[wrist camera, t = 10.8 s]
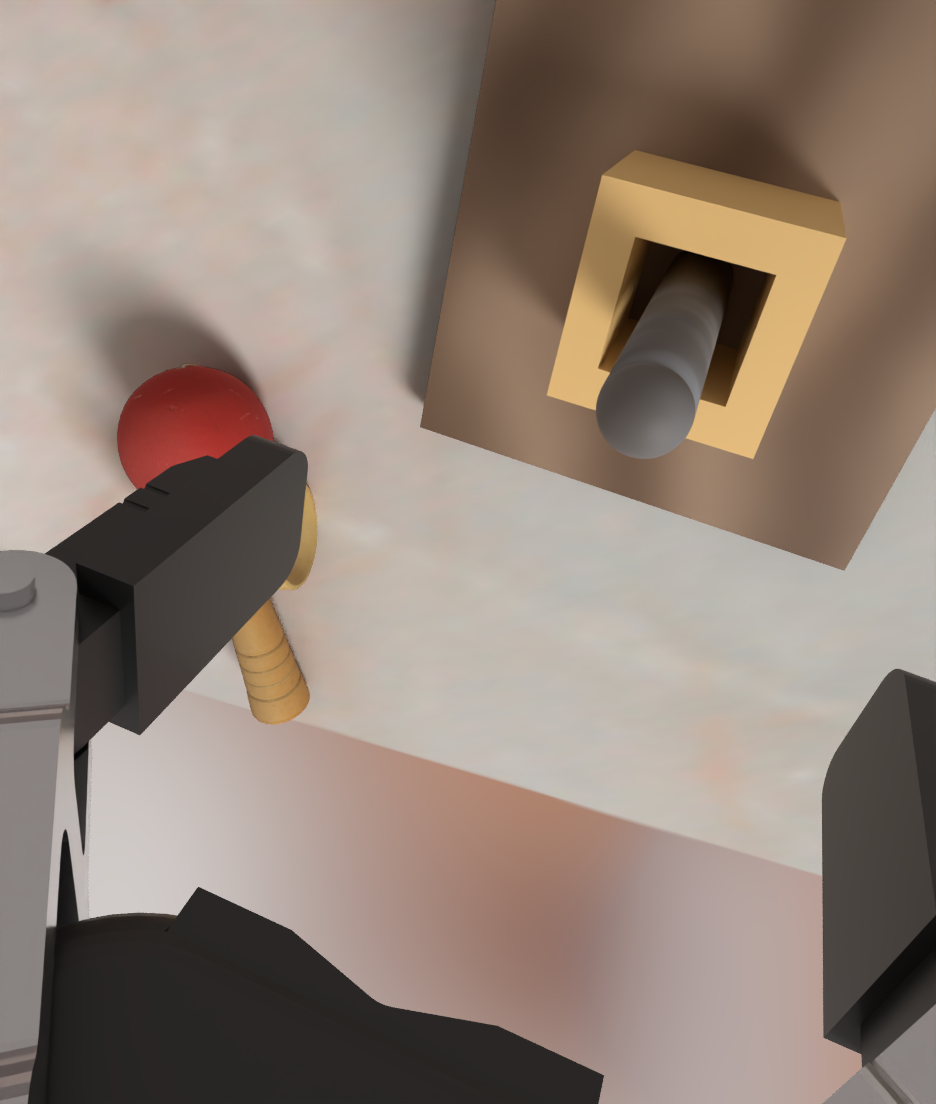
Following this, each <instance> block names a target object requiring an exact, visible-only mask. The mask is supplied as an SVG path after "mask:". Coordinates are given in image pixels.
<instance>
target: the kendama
mask: <svg viewBox="0 0 936 1104" xmlns="http://www.w3.org/2000/svg"><path fill="white" fill-rule="evenodd" d="M251 435H257V436H260V437H262V438H265V439H268V440H271V441H274V440H273V431H272V427H271V423H270V420H269V417H268V415H267V412H266V410H265V408H264V406H263V405H262V403H261V402H260V400H259V399H258V397H257V396H256V395H255V394H254V392H253V391H252V390H251V389H250V388H249V387H248V386H246V385H245V384H244V383H243V382H241V381H240V380H239V379H237V378H236V377H234V376H232V375H230V374H228V373H225V372H223V371H220V370H217V369H213V368H208V367H201V366H199V365H196V364H184V365H183V366H182V367H179V368H174V369H170V370H166V371H164V372H162V373H160V374H158V375H155V376H153V377H152V378H150V379H149V380H147V381H146V382H145V383H143V384H142V385H141V386H140V387H138V389H136V390H135V392H134V393H133V394H132V395H131V396H130V398H129V399H128V401H127V402H126V404H125V406H124V408H123V411H122V413H121V415H120V420H119V424H118V432H117V443H118V452H119V456H120V460H121V463H122V465H123V468H124V470H125V472H126V474H127V476H128V477H129V479H130V481H131V482H132V483H133V485H134V486H135V487H136V488H137V489H139V488H143V489H144V488H145V486H146V483H148V482H149V481H151V480H152V479H154V478H155V477H157V476H158V475H159V474H161V473H162V472H164V471H165V470H167V469H168V468H170V467H171V466H173V465H177V464H180V463H183V462H187V461H190V460H193V459H196V458H200V457H203V456H206V455H208V456H211V457H214V458H217V459H218V458H219V457H221V456H222V455H223V454H225V453H226V452H227V451H229V450H230V449H232V448H233V447H234V446H236V445H237V444H238V443H240V442H241V441H242V440H244V439H245V438H247V437H248V436H251ZM316 545H317V516H316V511H315V503H314V499H313V496H312V493H311V491H310V489H309V487H308V486H307V484H306V491H305V501H304V511H303V522H302V532H301V542H300V548H299V552H298V556H297V559H296V561H295V564H294V566H293V569H292V571H291V572H290V574H289V576H288V578H287V579H286V581H285V582H284V583H283V585H282V586H281V587H280V588H279V589H278V590H294V589H298V588H299V587H300V586H301V585H303V583H304V582H305V581H306V579H307V577H308V575H309V573H310V571H311V568H312V565H313V561H314V557H315V551H316ZM232 640H233V644H234V647H235V651H236V654H237V658H238V661H239V664H240V668H241V672H242V675H243V679H244V683H245V686H246V689H247V695H248V699H249V704H250V708H251V711H252V714H253V716H254V717H255V718H256V719H257V720H258V721H260V722H262V723H266V724H280V723H284V722H287V721H290V720H291V719H293V718H295V717H296V716H298V715H299V714H300V713H301V712H302V711H303V710H304V709H305V708H306V706H307V704H308V702H309V697H310V694H309V690H308V687H307V685H306V683H305V680H304V678H303V676H302V674H301V672H300V670H299V667H298V665H297V663H296V660H295V658H294V656H293V653H292V651H291V648H290V646H289V644H288V641H287V638H286V636H285V633H284V631H283V629H282V626H281V623H280V621H279V618H278V616H277V614H276V611H275V609H274V607H273V604H272V602H271V600H270V598H269V599H268V601H267V602H266V603H265V604H264V605H263V606H262V607H261V608H260V609H259V610H258V611H257V612H256V613H255V614H254V615H253V616H252V617H251V619H250V620H249V621H248V622H247V623H246V624H245V625H244V626H243V627H242V628H241V629H240V630H239V631H238V632H237V633H236V634H235V635H234V636H233V638H232Z"/></svg>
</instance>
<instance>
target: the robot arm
mask: <svg viewBox="0 0 936 1104" xmlns="http://www.w3.org/2000/svg"><path fill="white" fill-rule="evenodd" d="M307 470H308V463H307V457H306V455H305V454H304V453H303V452H301V451H298V450H296V449H293V448H290V447H287V446H285V445H282V444H279V443H276V442H274V441H271V440H268V439H265V438H262V437H260V436H257V435H251V436H248V437H247V438H245V439H244V440H242V441H241V442H240V443H238V444H237V445H236V446H234V447H233V448H232V449H230V450H229V451H227V452H226V453H225V454H223V455H222V456H221V457H219V458H218V459H217V458H214V457H211V456H208V455H206V456H203V457H200V458H196V459H193V460H190V461H187V462H183V463H180V464H177V465H173V466H171V467H170V468H168V469H167V470H165V471H164V472H162V473H161V474H159V475H158V476H157V477H155V478H154V479H152V480H151V481H149V482H148V483H146V486H145V488H144V489H143V488H139V489H138V490H136V491H135V492H133V493H132V494H131V495H129V496H128V497H126V498H125V499H124V502H123V504H122V503H117V504H116V505H115V506H113V507H112V508H110V509H109V510H107V511H106V512H104V513H103V514H102V515H100V516H99V517H97V518H96V519H94V520H93V521H91V522H90V523H89V524H87V525H86V526H84V527H83V528H81V529H80V530H78V531H77V532H76V533H74V534H73V535H71V536H70V537H68V538H67V539H65V540H64V541H63V542H61V543H60V544H58V545H57V546H55V547H54V548H52V549H51V550H49V551H48V552H47V553H45V554H43V553H38V552H33V551H24V550H9V551H0V1104H598V1102H599V1097H600V1092H601V1088H602V1082H603V1077H604V1075H602V1074H600V1073H598V1072H595V1071H593V1070H591V1069H589V1068H587V1067H585V1066H583V1065H580V1064H578V1063H576V1062H574V1061H572V1060H570V1059H567V1058H565V1057H563V1056H561V1055H559V1054H557V1053H555V1052H552V1051H550V1050H548V1049H546V1048H544V1047H542V1046H540V1045H537V1044H535V1043H533V1042H531V1041H529V1040H527V1039H524V1038H522V1037H520V1036H518V1035H516V1034H514V1033H511V1032H509V1031H507V1030H505V1029H503V1028H501V1027H499V1026H494V1025H488V1024H483V1023H478V1022H472V1021H467V1020H461V1019H455V1018H450V1017H444V1016H438V1015H433V1014H427V1013H422V1012H416V1011H410V1010H405V1009H399V1008H393V1007H389V1006H385V1005H383V1004H381V1003H379V1002H377V1001H375V1000H374V999H372V998H371V997H370V996H369V995H367V994H366V993H365V992H364V991H363V990H362V989H360V988H359V987H358V986H357V985H355V984H354V983H353V982H352V981H351V980H350V979H349V978H347V977H346V976H345V975H344V974H343V973H341V972H340V971H339V970H338V969H337V968H336V967H334V966H333V965H332V964H331V963H330V962H329V961H327V960H326V959H325V958H324V957H323V956H321V955H320V954H319V953H318V952H317V951H316V950H314V949H313V948H312V947H311V946H310V945H308V944H307V943H306V942H305V941H303V940H302V939H301V938H300V937H299V936H298V935H297V934H295V933H294V932H293V931H292V930H290V929H288V928H286V927H283V926H281V925H279V924H277V923H275V922H273V921H270V920H269V919H266V918H264V917H262V916H260V915H258V914H256V913H253V912H251V911H249V910H247V909H245V908H243V907H241V906H238V905H236V904H234V903H232V902H230V901H228V900H225V899H223V898H221V897H219V896H217V895H215V894H213V893H210V892H208V891H206V890H204V889H202V888H200V887H198V888H197V889H196V891H195V892H194V893H193V895H192V896H191V898H190V899H189V900H188V902H187V903H186V905H185V906H184V907H183V909H182V910H181V912H180V913H179V914H178V916H176V915H170V914H156V913H128V914H113V915H107V916H101V917H96V918H90V919H89V903H88V902H89V901H88V862H89V831H90V801H91V771H92V770H91V769H92V745H91V738H92V737H93V736H94V735H95V734H96V733H97V732H98V731H99V730H100V729H101V728H102V727H103V726H104V725H106V724H107V723H108V722H111V723H113V724H115V725H118V726H120V727H122V728H125V729H127V730H129V731H131V732H134V733H136V734H138V735H141V734H142V733H143V731H145V729H146V728H147V727H148V726H149V725H150V724H151V723H152V722H153V721H154V720H155V719H156V718H157V717H158V716H159V715H160V714H161V712H162V711H163V710H164V709H165V708H166V707H167V706H168V705H169V704H170V703H171V702H172V701H173V700H174V699H175V698H176V696H178V695H179V693H180V692H181V691H182V690H183V689H184V688H185V687H186V686H187V685H188V684H189V683H190V682H191V681H192V680H193V679H194V678H195V677H196V676H197V675H198V673H199V672H200V671H201V670H202V669H203V668H204V667H205V666H206V665H207V664H208V663H209V662H210V661H211V660H212V659H213V658H214V657H215V655H216V654H217V653H218V652H219V651H220V650H221V649H222V648H223V647H224V646H225V645H226V644H227V643H228V642H229V641H230V640H231V639H232V638H233V636H234V635H235V634H236V633H237V632H238V631H239V630H240V629H241V628H242V627H243V626H244V625H245V624H246V623H247V622H248V621H249V620H250V619H251V617H252V616H253V615H254V614H255V613H256V612H257V611H258V610H259V609H260V608H261V607H262V606H263V605H264V604H265V603H266V602H267V601H268V599H269V598H270V597H271V596H272V595H273V594H274V593H275V592H276V591H277V590H278V589H279V588H280V587H281V586H282V585H283V583H284V582H285V581H286V579H287V578H288V576H289V574H290V572H291V571H292V569H293V566H294V564H295V561H296V559H297V556H298V552H299V548H300V542H301V532H302V522H303V511H304V501H305V491H306V481H307ZM822 874H823V1014H824V1015H823V1016H824V1017H823V1020H824V1021H823V1022H824V1038H826V1039H828V1040H830V1041H832V1042H835V1043H837V1044H839V1045H842V1046H844V1047H846V1048H848V1049H851V1050H853V1051H855V1052H858V1053H860V1054H862V1069H861V1070H859V1071H858V1072H857V1073H856V1074H855V1075H854V1076H853V1077H852V1078H850V1079H849V1080H848V1081H847V1082H846V1083H845V1084H844V1085H843V1086H842V1087H841V1088H839V1089H838V1090H837V1091H836V1092H835V1093H834V1094H833V1095H832V1096H831V1097H829V1098H828V1099H827V1100H826V1101H825V1102H824V1103H823V1104H936V682H934V681H931V680H929V679H926V678H923V677H920V676H918V675H915V674H912V673H909V672H906V671H904V670H901V669H894V670H893V671H891V672H890V673H889V674H888V675H887V676H886V677H885V678H884V680H883V681H882V682H881V684H880V686H879V687H878V689H877V690H876V692H875V693H874V695H873V696H872V698H871V699H870V701H869V702H868V704H867V705H866V707H865V708H864V710H863V711H862V713H861V714H860V716H859V717H858V719H857V720H856V722H855V723H854V725H853V726H852V728H851V729H850V731H849V732H848V734H847V735H846V737H845V738H844V740H843V741H842V743H841V744H840V746H839V747H838V749H837V751H836V752H835V754H834V756H833V758H832V761H831V763H830V765H829V768H828V771H827V774H826V777H825V781H824V786H823V793H822Z"/></svg>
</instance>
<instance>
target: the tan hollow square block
mask: <svg viewBox="0 0 936 1104" xmlns="http://www.w3.org/2000/svg"><path fill="white" fill-rule="evenodd" d="M846 239H847V238H846V232H845V227H844V221H843V216H842V210H841V205H840V202H838V201H834V200H830V199H826V198H822V197H818V196H814V195H810V194H807V193H803V192H799V191H795V190H791V189H787V188H783V187H779V186H775V185H771V184H767V183H763V182H759V181H755V180H751V179H747V178H743V177H739V176H736V175H732V174H728V173H724V172H720V171H716V170H712V169H708V168H704V167H700V166H696V165H692V164H688V163H684V162H680V161H676V160H672V159H668V158H665V157H661V156H657V155H653V154H649V153H645V152H641V151H637V150H634V151H633V152H632V153H630V154H629V155H628V156H626V157H625V158H624V159H622V160H621V161H620V162H618V163H617V164H616V165H615V166H613V167H612V168H611V169H609V170H608V171H607V172H605V173H604V174H603V175H602V178H601V182H600V185H599V189H598V193H597V197H596V201H595V205H594V209H593V213H592V217H591V221H590V225H589V229H588V233H587V237H586V241H585V245H584V249H583V253H582V257H581V261H580V265H579V269H578V273H577V277H576V281H575V285H574V289H573V293H572V297H571V301H570V305H569V309H568V313H567V317H566V320H565V324H564V328H563V332H562V336H561V340H560V344H559V348H558V352H557V356H556V360H555V364H554V368H553V372H552V376H551V380H550V384H549V388H548V392H547V396H550V397H554V398H557V399H560V400H563V401H567V402H570V403H573V404H576V405H580V406H583V407H586V408H589V409H593V410H596V403H597V398H598V395H599V393H600V390H601V388H602V386H603V384H604V383H605V381H606V379H607V377H608V375H609V374H610V372H611V370H612V368H613V366H614V365H615V363H616V361H617V359H618V357H619V356H620V354H621V352H622V350H623V349H624V347H625V345H626V343H627V341H628V340H629V338H630V336H631V334H632V332H633V331H634V329H635V327H636V325H637V323H638V322H639V321H637V320H634V319H630V318H628V317H629V313H630V310H631V306H632V303H633V300H634V296H635V293H636V290H637V286H638V283H639V279H640V276H641V273H642V269H643V266H644V262H645V259H646V256H647V252H648V249H649V245H650V242H651V241H653V242H656V243H660V244H664V245H667V246H671V247H675V248H678V249H682V250H686V251H689V252H693V253H697V254H701V255H704V256H708V257H712V258H715V259H719V260H723V261H726V262H730V263H734V264H737V265H741V266H745V267H748V268H752V269H756V270H760V271H763V272H767V273H766V276H765V279H764V281H763V284H762V287H761V289H760V292H759V294H758V297H757V300H756V302H755V305H754V308H753V310H752V313H751V316H750V318H749V321H748V323H747V326H746V329H745V331H744V334H743V337H742V339H741V342H740V345H739V347H738V349H734V348H731V347H727V346H724V345H720V344H717V343H716V344H715V348H714V351H713V355H712V358H711V362H710V365H709V369H708V373H707V376H706V380H705V383H704V387H703V390H702V394H701V397H700V401H699V404H698V408H697V411H696V415H695V419H694V422H693V425H692V427H691V429H690V432H689V433H688V435H687V437H686V439H690V440H693V441H696V442H699V443H703V444H706V445H709V446H712V447H715V448H719V449H722V450H725V451H728V452H732V453H735V454H738V455H741V456H745V457H748V458H751V459H753V458H754V456H755V454H756V451H757V449H758V447H759V444H760V442H761V439H762V437H763V435H764V432H765V430H766V428H767V425H768V423H769V421H770V418H771V416H772V414H773V411H774V409H775V406H776V404H777V402H778V399H779V397H780V395H781V392H782V390H783V388H784V385H785V383H786V380H787V378H788V376H789V373H790V371H791V369H792V366H793V364H794V362H795V359H796V357H797V354H798V352H799V350H800V347H801V345H802V343H803V340H804V338H805V336H806V333H807V331H808V328H809V326H810V324H811V321H812V319H813V317H814V314H815V312H816V310H817V307H818V305H819V302H820V300H821V298H822V295H823V293H824V291H825V288H826V286H827V284H828V281H829V279H830V277H831V274H832V272H833V269H834V267H835V265H836V262H837V260H838V258H839V255H840V253H841V251H842V248H843V246H844V243H845V241H846Z"/></svg>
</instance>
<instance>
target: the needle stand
mask: <svg viewBox="0 0 936 1104" xmlns="http://www.w3.org/2000/svg"><path fill="white" fill-rule="evenodd" d="M634 150H637V151H641V152H645V153H649V154H653V155H657V156H661V157H665V158H668V159H672V160H676V161H680V162H684V163H688V164H692V165H696V166H700V167H704V168H708V169H712V170H716V171H720V172H724V173H728V174H732V175H736V176H739V177H743V178H747V179H751V180H755V181H759V182H763V183H767V184H771V185H775V186H779V187H783V188H787V189H791V190H795V191H799V192H803V193H807V194H810V195H814V196H818V197H822V198H826V199H830V200H834V201H838V202H840V205H841V210H842V216H843V221H844V227H845V232H846V238H847V239H846V241H845V243H844V246H843V248H842V251H841V253H840V255H839V258H838V260H837V262H836V265H835V267H834V269H833V272H832V274H831V277H830V279H829V281H828V284H827V286H826V288H825V291H824V293H823V295H822V298H821V300H820V302H819V305H818V307H817V310H816V312H815V314H814V317H813V319H812V321H811V324H810V326H809V328H808V331H807V333H806V336H805V338H804V340H803V343H802V345H801V347H800V350H799V352H798V354H797V357H796V359H795V362H794V364H793V366H792V369H791V371H790V373H789V376H788V378H787V380H786V383H785V385H784V388H783V390H782V392H781V395H780V397H779V399H778V402H777V404H776V406H775V409H774V411H773V414H772V416H771V418H770V421H769V423H768V425H767V428H766V430H765V432H764V435H763V437H762V439H761V442H760V444H759V447H758V449H757V451H756V454H755V456H754V458H753V459H751V458H748V457H745V456H741V455H738V454H735V453H732V452H728V451H725V450H722V449H719V448H715V447H712V446H709V445H706V444H703V443H699V442H696V441H693V440H690V439H686V437H687V435H688V433H689V432H690V429H691V427H692V425H693V422H694V419H695V415H696V411H697V408H698V404H699V401H700V397H701V394H702V390H703V387H704V383H705V380H706V376H707V373H708V369H709V365H710V362H711V358H712V355H713V351H714V348H715V344H716V343H717V344H720V345H724V346H727V347H731V348H734V349H738V347H739V345H740V342H741V339H742V337H743V334H744V331H745V329H746V326H747V323H748V321H749V318H750V316H751V313H752V310H753V308H754V305H755V302H756V300H757V297H758V294H759V292H760V289H761V287H762V284H763V281H764V279H765V276H766V273H767V272H763V271H760V270H756V269H752V268H748V267H745V266H741V265H737V264H734V263H730V262H726V261H723V260H719V259H715V258H712V257H708V256H704V255H701V254H697V253H693V252H689V251H686V250H682V249H678V248H675V247H671V246H667V245H664V244H660V243H656V242H653V241H651V242H650V245H649V249H648V252H647V256H646V259H645V262H644V266H643V269H642V273H641V276H640V279H639V283H638V286H637V290H636V293H635V296H634V300H633V303H632V306H631V310H630V313H629V317H628V318H630V319H634V320H637V321H639V322H638V323H637V325H636V327H635V329H634V331H633V332H632V334H631V336H630V338H629V340H628V341H627V343H626V345H625V347H624V349H623V350H622V352H621V354H620V356H619V357H618V359H617V361H616V363H615V365H614V366H613V368H612V370H611V372H610V374H609V375H608V377H607V379H606V381H605V383H604V384H603V386H602V388H601V390H600V393H599V395H598V398H597V403H596V410H593V409H589V408H586V407H583V406H580V405H576V404H573V403H570V402H567V401H563V400H560V399H557V398H554V397H550V396H547V392H548V388H549V384H550V380H551V376H552V372H553V368H554V364H555V360H556V356H557V352H558V348H559V344H560V340H561V336H562V332H563V328H564V324H565V320H566V317H567V313H568V309H569V305H570V301H571V297H572V293H573V289H574V285H575V281H576V277H577V273H578V269H579V265H580V261H581V257H582V253H583V249H584V245H585V241H586V237H587V233H588V229H589V225H590V221H591V217H592V213H593V209H594V205H595V201H596V197H597V193H598V189H599V185H600V182H601V178H602V175H603V174H604V173H605V172H607V171H608V170H609V169H611V168H612V167H613V166H615V165H616V164H617V163H618V162H620V161H621V160H622V159H624V158H625V157H626V156H628V155H629V154H630V153H632V152H633V151H634ZM935 408H936V0H496V4H495V9H494V15H493V21H492V26H491V32H490V37H489V43H488V49H487V54H486V60H485V65H484V71H483V77H482V82H481V88H480V94H479V99H478V105H477V110H476V116H475V122H474V127H473V133H472V138H471V144H470V150H469V155H468V161H467V167H466V172H465V178H464V183H463V189H462V195H461V200H460V206H459V211H458V217H457V223H456V228H455V234H454V240H453V245H452V251H451V256H450V262H449V268H448V273H447V279H446V284H445V290H444V296H443V301H442V307H441V313H440V318H439V324H438V329H437V335H436V341H435V346H434V352H433V357H432V363H431V369H430V374H429V380H428V386H427V391H426V397H425V402H424V408H423V414H422V419H421V425H420V427H422V428H424V429H427V430H430V431H433V432H436V433H439V434H442V435H445V436H448V437H451V438H454V439H457V440H460V441H463V442H466V443H469V444H472V445H475V446H478V447H481V448H484V449H487V450H489V451H492V452H495V453H498V454H501V455H504V456H507V457H510V458H513V459H516V460H519V461H522V462H525V463H528V464H531V465H534V466H537V467H540V468H543V469H546V470H549V471H552V472H554V473H557V474H560V475H563V476H566V477H569V478H572V479H575V480H578V481H581V482H584V483H587V484H590V485H593V486H596V487H599V488H602V489H605V490H608V491H611V492H614V493H617V494H620V495H622V496H625V497H628V498H631V499H634V500H637V501H640V502H643V503H646V504H649V505H652V506H655V507H658V508H661V509H664V510H667V511H670V512H673V513H676V514H679V515H682V516H685V517H687V518H690V519H693V520H696V521H699V522H702V523H705V524H708V525H711V526H714V527H717V528H720V529H723V530H726V531H729V532H732V533H735V534H738V535H741V536H744V537H747V538H750V539H752V540H755V541H758V542H761V543H764V544H767V545H770V546H773V547H776V548H779V549H782V550H785V551H788V552H791V553H794V554H797V555H800V556H803V557H806V558H809V559H812V560H815V561H817V562H820V563H823V564H826V565H829V566H832V567H835V568H838V569H841V570H845V569H846V567H847V565H848V563H849V561H850V560H851V558H852V556H853V554H854V553H855V551H856V549H857V547H858V545H859V544H860V542H861V540H862V538H863V537H864V535H865V533H866V531H867V529H868V528H869V526H870V524H871V522H872V520H873V519H874V517H875V515H876V513H877V512H878V510H879V508H880V506H881V504H882V503H883V501H884V499H885V497H886V496H887V494H888V492H889V490H890V488H891V487H892V485H893V483H894V481H895V479H896V478H897V476H898V474H899V472H900V471H901V469H902V467H903V465H904V463H905V462H906V460H907V458H908V456H909V455H910V453H911V451H912V449H913V447H914V446H915V444H916V442H917V440H918V438H919V437H920V435H921V433H922V431H923V430H924V428H925V426H926V424H927V422H928V421H929V419H930V417H931V415H932V414H933V412H934V410H935Z"/></svg>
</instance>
